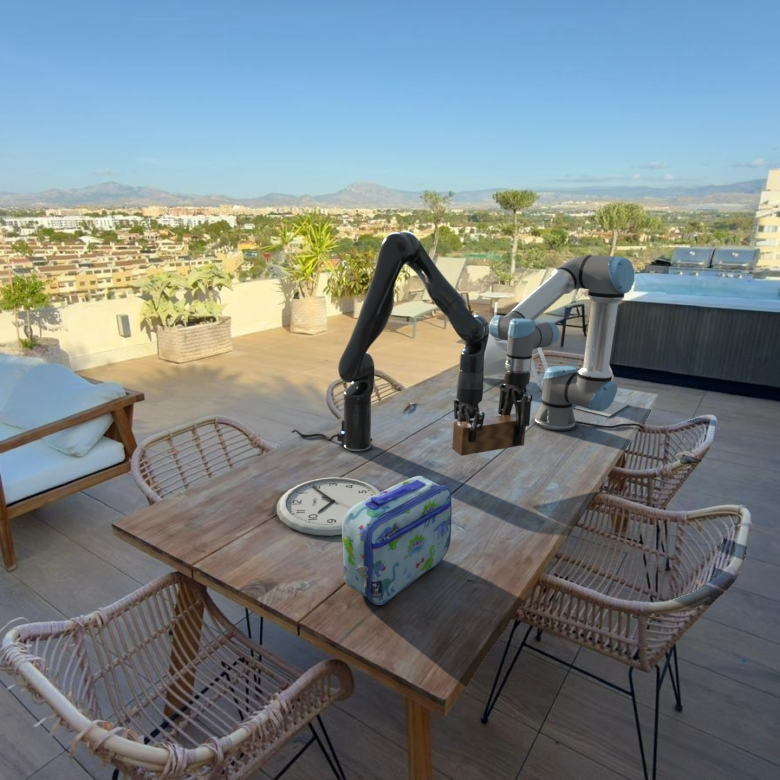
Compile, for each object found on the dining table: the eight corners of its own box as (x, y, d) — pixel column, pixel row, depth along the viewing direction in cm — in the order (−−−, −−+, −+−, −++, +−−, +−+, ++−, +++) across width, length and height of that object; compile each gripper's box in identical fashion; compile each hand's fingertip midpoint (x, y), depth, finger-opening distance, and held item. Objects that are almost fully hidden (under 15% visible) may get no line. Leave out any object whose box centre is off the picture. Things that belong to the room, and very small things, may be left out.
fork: (400, 412, 215) (400, 407, 215) (412, 400, 229) (412, 396, 229) (406, 412, 214) (406, 408, 214) (418, 401, 229) (418, 397, 228)
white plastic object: (488, 419, 266) (468, 396, 241) (469, 346, 288) (449, 319, 263) (559, 395, 254) (545, 368, 229) (533, 321, 276) (519, 290, 251)
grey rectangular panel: (608, 416, 214) (573, 407, 224) (608, 416, 214) (573, 408, 224) (628, 404, 229) (594, 396, 238) (628, 405, 229) (594, 397, 238)
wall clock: (392, 527, 129) (268, 531, 127) (391, 533, 130) (269, 537, 127) (383, 473, 158) (282, 475, 155) (383, 478, 158) (282, 480, 156)
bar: (513, 438, 169) (515, 413, 166) (523, 445, 164) (526, 419, 162) (452, 448, 160) (453, 422, 158) (461, 455, 156) (463, 428, 153)
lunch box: (371, 618, 102) (371, 524, 95) (336, 591, 109) (334, 502, 103) (455, 562, 119) (460, 479, 113) (420, 542, 126) (423, 463, 120)
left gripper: (447, 379, 158) (444, 431, 163) (472, 393, 145) (468, 449, 150) (468, 377, 161) (465, 428, 166) (495, 390, 148) (490, 445, 153)
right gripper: (490, 364, 165) (484, 432, 172) (526, 379, 149) (519, 454, 156) (509, 362, 168) (503, 429, 175) (547, 377, 152) (539, 450, 159)
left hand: (466, 438), depth 158 cm, fingers closed on bar, 5 cm apart
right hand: (511, 441), depth 165 cm, fingers closed on bar, 5 cm apart
